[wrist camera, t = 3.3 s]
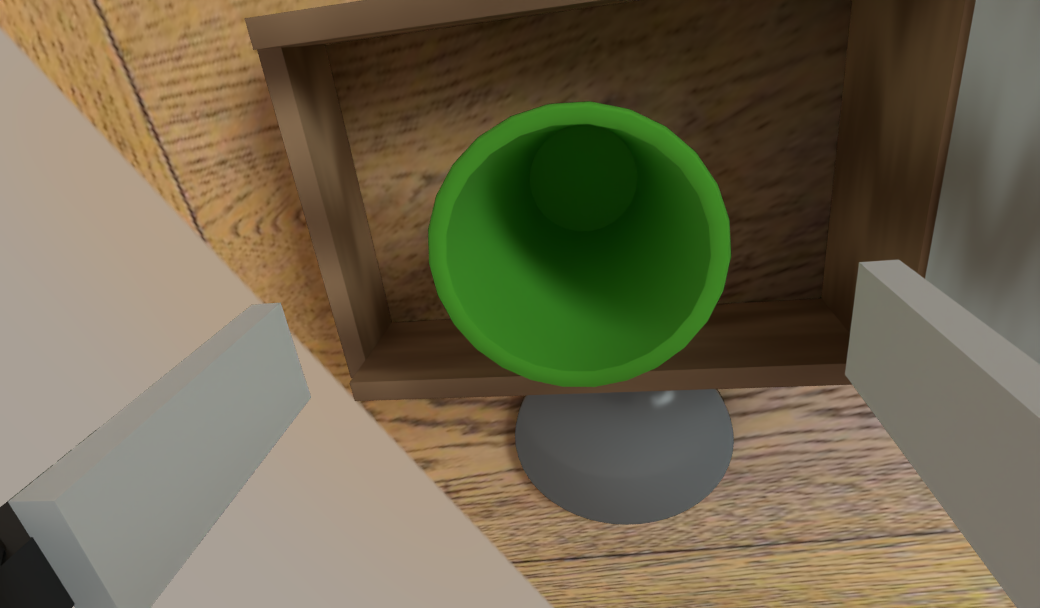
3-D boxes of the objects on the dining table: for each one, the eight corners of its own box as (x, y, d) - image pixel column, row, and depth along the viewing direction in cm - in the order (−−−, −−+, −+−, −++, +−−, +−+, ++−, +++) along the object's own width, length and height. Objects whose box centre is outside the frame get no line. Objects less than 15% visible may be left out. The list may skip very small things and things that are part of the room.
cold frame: (298, 23, 26) (-253, 18, 9) (1063, -91, 21) (2886, -547, 4) (378, 339, 32) (145, 670, 16) (973, 308, 28) (1546, 741, 11)
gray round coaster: (504, 349, 32) (501, 356, 31) (733, 338, 30) (737, 346, 29) (529, 514, 37) (528, 524, 36) (727, 514, 35) (730, 524, 34)
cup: (535, 291, 30) (504, 421, 20) (455, 125, 27) (371, 182, 17) (708, 227, 27) (769, 339, 18) (642, 34, 24) (671, 41, 14)
